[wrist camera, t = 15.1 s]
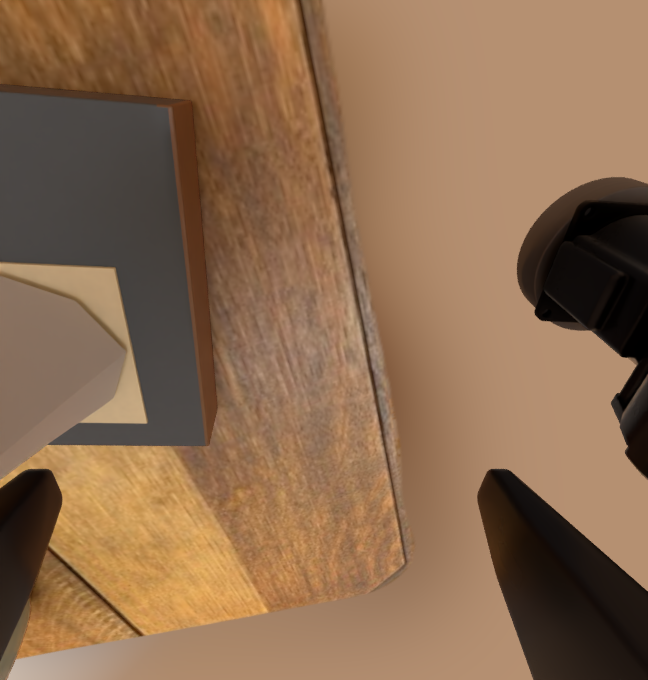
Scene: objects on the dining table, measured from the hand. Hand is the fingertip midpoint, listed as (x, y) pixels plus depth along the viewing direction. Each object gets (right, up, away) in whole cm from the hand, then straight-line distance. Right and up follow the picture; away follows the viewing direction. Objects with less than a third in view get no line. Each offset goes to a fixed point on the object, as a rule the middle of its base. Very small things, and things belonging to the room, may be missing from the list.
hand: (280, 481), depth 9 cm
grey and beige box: (-10, +6, +11) cm, 16 cm away
